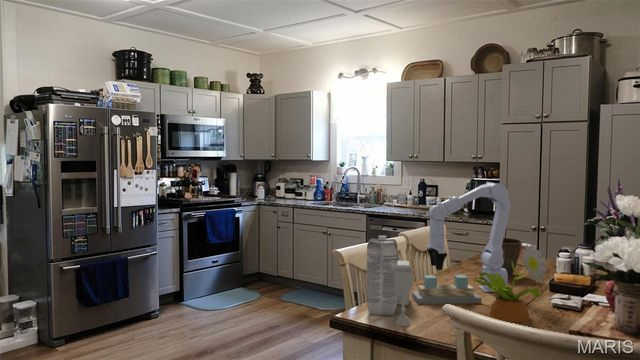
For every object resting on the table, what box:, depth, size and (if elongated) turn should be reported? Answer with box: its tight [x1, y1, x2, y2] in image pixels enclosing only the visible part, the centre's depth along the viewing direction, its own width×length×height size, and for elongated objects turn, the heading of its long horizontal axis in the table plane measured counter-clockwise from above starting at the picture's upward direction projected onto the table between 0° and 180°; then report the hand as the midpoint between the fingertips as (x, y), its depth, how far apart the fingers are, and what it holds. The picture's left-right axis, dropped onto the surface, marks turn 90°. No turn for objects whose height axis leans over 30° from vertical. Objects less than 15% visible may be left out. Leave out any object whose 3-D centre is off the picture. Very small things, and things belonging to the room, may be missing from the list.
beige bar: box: [417, 284, 475, 297], centre depth 191 cm, size 20×5×3 cm, turn 92°
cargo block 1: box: [423, 274, 438, 288], centre depth 191 cm, size 4×4×4 cm
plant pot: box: [487, 237, 523, 277], centre depth 232 cm, size 15×15×16 cm
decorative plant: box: [473, 243, 548, 323], centre depth 172 cm, size 27×24×25 cm
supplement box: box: [397, 260, 411, 306], centre depth 189 cm, size 9×9×15 cm
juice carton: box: [366, 235, 398, 317], centre depth 175 cm, size 9×10×27 cm
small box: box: [517, 242, 537, 268], centre depth 252 cm, size 8×6×10 cm
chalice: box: [393, 267, 415, 327], centre depth 164 cm, size 7×7×18 cm
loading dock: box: [411, 290, 482, 305], centre depth 192 cm, size 24×10×2 cm, turn 92°
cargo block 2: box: [453, 274, 469, 288], centre depth 191 cm, size 4×4×4 cm
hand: (436, 267), depth 205 cm, fingers open, 7 cm apart
